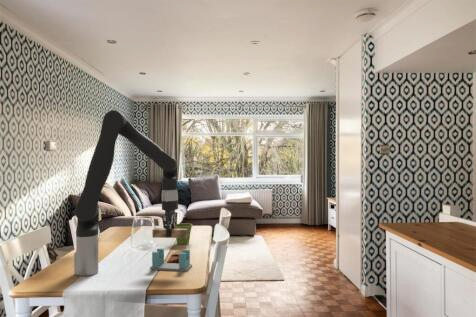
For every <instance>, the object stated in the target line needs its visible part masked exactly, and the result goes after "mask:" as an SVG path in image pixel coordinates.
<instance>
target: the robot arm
mask: <svg viewBox="0 0 476 317" xmlns="http://www.w3.org/2000/svg"><path fill="white" fill-rule="evenodd" d="M102 119H103V120H102V123H101V129H100V133H99V134H100V135H99V137H98V140H97V143H96V146H95V148H94V152H93V154H92V156H91V159H90V163H89V166H88V168H87V175H86V178H85V183H84V187H83V190H82V192H81V195H80V198H79V200H78V201H77V204H76V206H75V208H74V214H75V217H76V219H77V221H76V222H77V223H76V225H77V226H76V228H75V239H76V240H75V241H76V243H75V249H76V251H75V252H74V254H73V257H74V258H73V260H74V261H73V263H74V264H73V266H74V267H73V270H74V271H73V272H74V273H73V274H74V275H77V276H80V277H88V276H93V275H96V274H98V273H99V226H100V222H99V221H100V209H99V199H100V195H101V192H102V190H103V189H104V186H105V184H106V182H107V180H108V178H109V175H110V172H111V170H112V166H113V163H114V158H115V149H116V148H115V147H116V142H117V139H118V136H119V135H120V136H122V137H124V138H125V139H126V140H128V141H129V142H130V143H131V144H132V145H133V146H135V148H137V149H138V150H139V151H140V152H141V153H142V154H144V155H145V156H146V157H147V158H148V159H150V160H151V161H153V162H154V164H156V165H157V166H158V167H159V168H160V169H161V170H162V180H161V188H162V189H161V210H162V211H165V212H164V216H161V221H162V225H163V227H162V228H164V229H166V237H171V228H174V227H175V225H176V224H178V223H177V222H178V214H179V213H178V212H176V211H177V210H178V209H179V194H178V178H177V177H178V162H177V159H176V158H175V157H173V156H171V155H169V153H167V152H165V151H164V150H163V149H162V147H160V146H159V145H158V144H157V143H155V142H154V141H153V140H151V138H149V137H147V136H146V135H145V134H143V133H142V132H141V131H139V130H138V129H137V128H135V126H133V125H132V123H131V122H130V121H129V120H128V119H127V118H126V116H125V115H124V114H123V113H122V112H120V111H119V110H115V109H112V110H109V111H107V112H106V113H105V114H104V116H103V118H102Z"/></svg>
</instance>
